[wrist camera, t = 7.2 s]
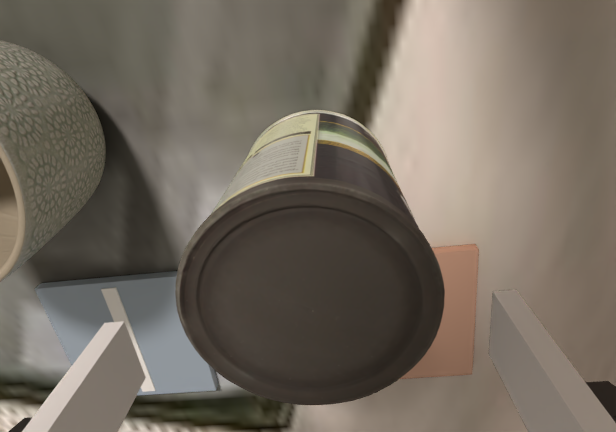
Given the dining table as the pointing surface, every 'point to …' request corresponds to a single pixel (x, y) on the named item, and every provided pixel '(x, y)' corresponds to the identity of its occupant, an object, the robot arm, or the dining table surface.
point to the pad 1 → (130, 326)
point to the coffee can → (311, 269)
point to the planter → (42, 153)
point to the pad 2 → (453, 316)
